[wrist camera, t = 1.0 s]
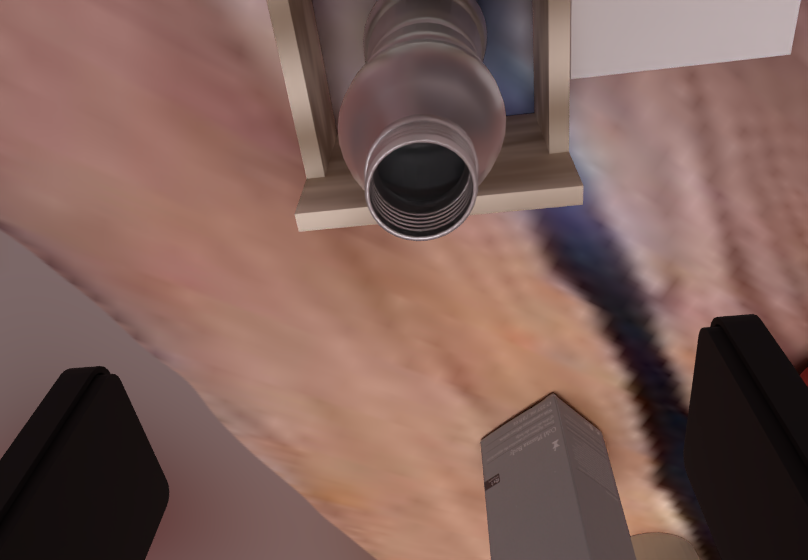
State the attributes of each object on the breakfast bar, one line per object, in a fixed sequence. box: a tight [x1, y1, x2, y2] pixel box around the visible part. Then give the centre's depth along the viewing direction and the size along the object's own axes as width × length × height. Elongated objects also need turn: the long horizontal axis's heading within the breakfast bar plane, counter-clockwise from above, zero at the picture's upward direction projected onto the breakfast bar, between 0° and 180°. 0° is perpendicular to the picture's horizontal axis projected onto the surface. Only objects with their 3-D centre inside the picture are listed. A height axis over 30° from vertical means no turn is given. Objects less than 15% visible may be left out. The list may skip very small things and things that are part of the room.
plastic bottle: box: [338, 0, 506, 241], centre depth 30 cm, size 6×7×20 cm
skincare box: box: [481, 394, 637, 560], centre depth 49 cm, size 8×7×16 cm
